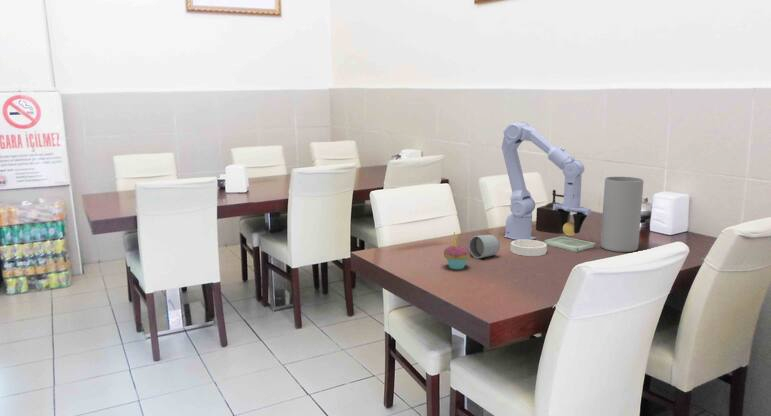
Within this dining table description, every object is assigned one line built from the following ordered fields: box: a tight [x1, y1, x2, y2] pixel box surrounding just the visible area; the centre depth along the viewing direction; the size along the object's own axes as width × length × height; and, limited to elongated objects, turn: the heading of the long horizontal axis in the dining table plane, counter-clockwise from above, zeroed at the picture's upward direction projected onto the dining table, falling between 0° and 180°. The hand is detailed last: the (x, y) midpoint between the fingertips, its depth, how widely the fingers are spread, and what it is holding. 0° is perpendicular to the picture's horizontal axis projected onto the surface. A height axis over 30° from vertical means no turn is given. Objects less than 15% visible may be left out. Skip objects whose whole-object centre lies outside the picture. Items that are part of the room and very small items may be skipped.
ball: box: [562, 221, 576, 237], centre depth 209 cm, size 5×5×5 cm
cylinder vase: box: [600, 176, 644, 253], centre depth 205 cm, size 12×12×25 cm
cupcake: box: [443, 231, 471, 270], centre depth 184 cm, size 9×8×12 cm
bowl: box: [509, 239, 548, 257], centre depth 203 cm, size 12×12×3 cm
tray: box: [543, 235, 596, 253], centre depth 211 cm, size 14×11×2 cm
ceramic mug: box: [467, 234, 501, 259], centre depth 198 cm, size 11×8×8 cm
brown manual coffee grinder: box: [535, 189, 571, 235], centre depth 236 cm, size 16×11×18 cm
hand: (570, 231), depth 210 cm, fingers closed on ball, 5 cm apart
